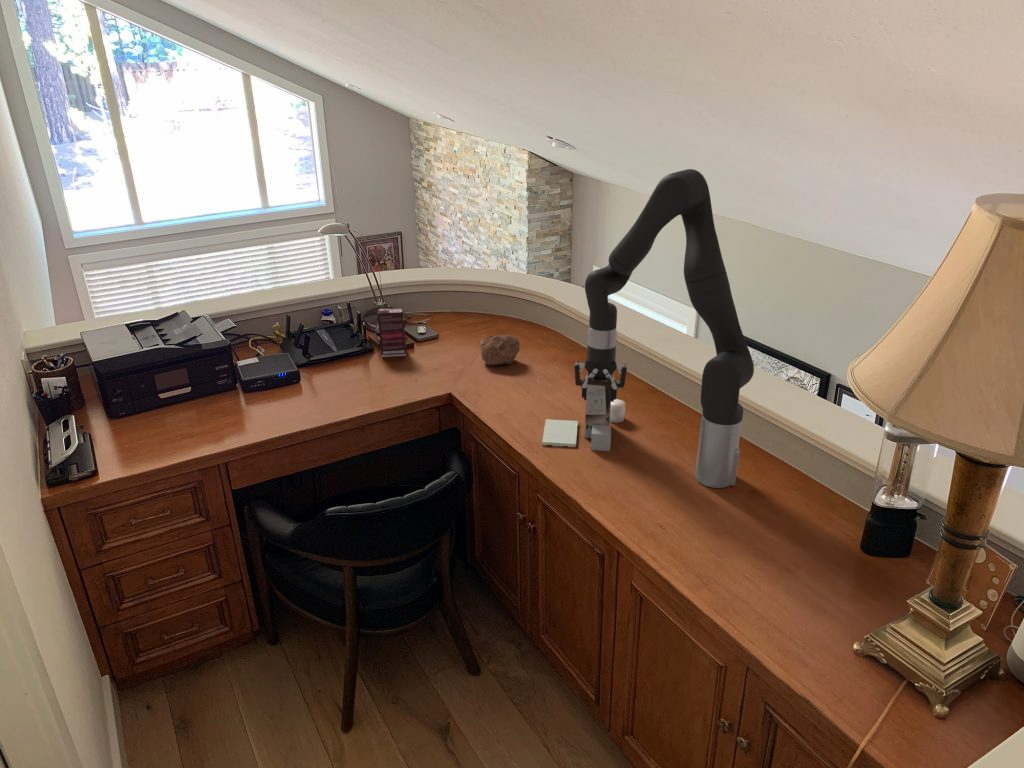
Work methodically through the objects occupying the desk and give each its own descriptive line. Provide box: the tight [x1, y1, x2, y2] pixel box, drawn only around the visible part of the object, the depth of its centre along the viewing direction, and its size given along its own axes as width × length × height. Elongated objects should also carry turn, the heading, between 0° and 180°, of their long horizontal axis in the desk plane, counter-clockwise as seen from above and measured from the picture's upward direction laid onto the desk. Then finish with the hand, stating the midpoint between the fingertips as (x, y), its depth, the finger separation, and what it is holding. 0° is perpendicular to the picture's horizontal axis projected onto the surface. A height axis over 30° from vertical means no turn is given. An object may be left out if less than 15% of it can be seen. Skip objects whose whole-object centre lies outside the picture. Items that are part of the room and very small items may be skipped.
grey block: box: [590, 425, 612, 452], centre depth 199 cm, size 5×5×5 cm
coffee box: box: [583, 372, 614, 439], centre depth 204 cm, size 9×6×16 cm
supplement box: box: [376, 307, 407, 358], centre depth 254 cm, size 9×5×16 cm, turn 97°
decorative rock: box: [478, 334, 521, 366], centre depth 249 cm, size 13×11×10 cm
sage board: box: [541, 418, 579, 448], centre depth 206 cm, size 9×13×1 cm
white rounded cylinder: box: [610, 398, 626, 424], centre depth 213 cm, size 5×5×5 cm
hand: (598, 399), depth 204 cm, fingers closed on coffee box, 6 cm apart
